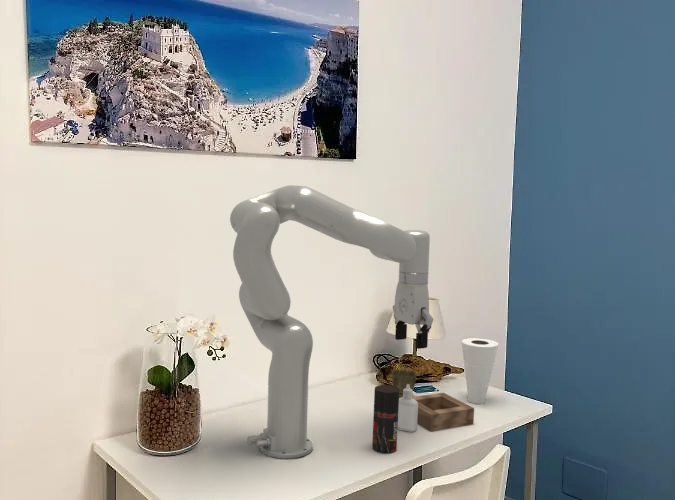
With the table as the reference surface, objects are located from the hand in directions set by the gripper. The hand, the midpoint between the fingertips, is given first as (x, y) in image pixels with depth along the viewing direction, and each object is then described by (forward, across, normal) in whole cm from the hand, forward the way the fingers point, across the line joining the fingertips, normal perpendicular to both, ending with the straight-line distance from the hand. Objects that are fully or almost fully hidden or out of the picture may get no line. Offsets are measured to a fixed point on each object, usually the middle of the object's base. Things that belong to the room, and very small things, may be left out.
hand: (410, 343), depth 174 cm
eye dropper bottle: (+23, 0, 0) cm, 23 cm away
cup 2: (+24, -11, +32) cm, 41 cm away
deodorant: (+23, +9, -12) cm, 28 cm away
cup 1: (+23, -22, +12) cm, 34 cm away
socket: (+23, -3, +12) cm, 26 cm away
